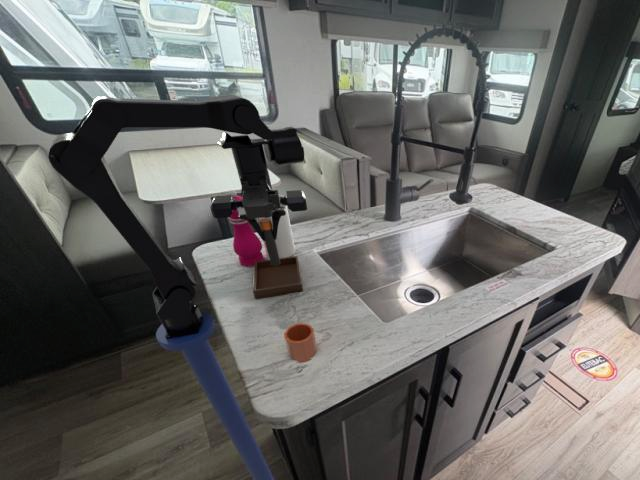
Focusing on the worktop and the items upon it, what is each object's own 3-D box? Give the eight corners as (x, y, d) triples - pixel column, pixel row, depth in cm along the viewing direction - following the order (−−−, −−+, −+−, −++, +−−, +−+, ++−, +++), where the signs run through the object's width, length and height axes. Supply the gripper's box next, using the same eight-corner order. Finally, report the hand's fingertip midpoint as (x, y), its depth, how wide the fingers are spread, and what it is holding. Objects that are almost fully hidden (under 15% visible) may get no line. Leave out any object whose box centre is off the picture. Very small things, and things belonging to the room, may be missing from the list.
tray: (255, 299, 77) (252, 291, 76) (256, 269, 88) (254, 261, 86) (303, 291, 80) (301, 284, 79) (299, 263, 91) (297, 255, 89)
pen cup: (290, 365, 61) (284, 345, 58) (288, 345, 65) (283, 326, 62) (318, 359, 63) (315, 339, 59) (315, 340, 67) (312, 320, 64)
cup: (270, 245, 98) (257, 194, 89) (297, 245, 99) (287, 193, 89) (263, 259, 92) (249, 205, 82) (292, 258, 93) (281, 205, 83)
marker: (270, 266, 77) (259, 223, 70) (270, 261, 79) (259, 218, 72) (281, 265, 77) (270, 222, 71) (280, 260, 79) (270, 217, 72)
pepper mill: (232, 264, 90) (208, 192, 77) (251, 252, 95) (231, 184, 83) (253, 269, 87) (231, 197, 75) (270, 257, 93) (253, 188, 81)
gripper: (193, 185, 56) (221, 262, 66) (303, 178, 61) (314, 251, 70) (204, 167, 65) (227, 238, 74) (299, 162, 69) (310, 229, 79)
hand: (269, 239), depth 74 cm, fingers closed on marker, 2 cm apart
